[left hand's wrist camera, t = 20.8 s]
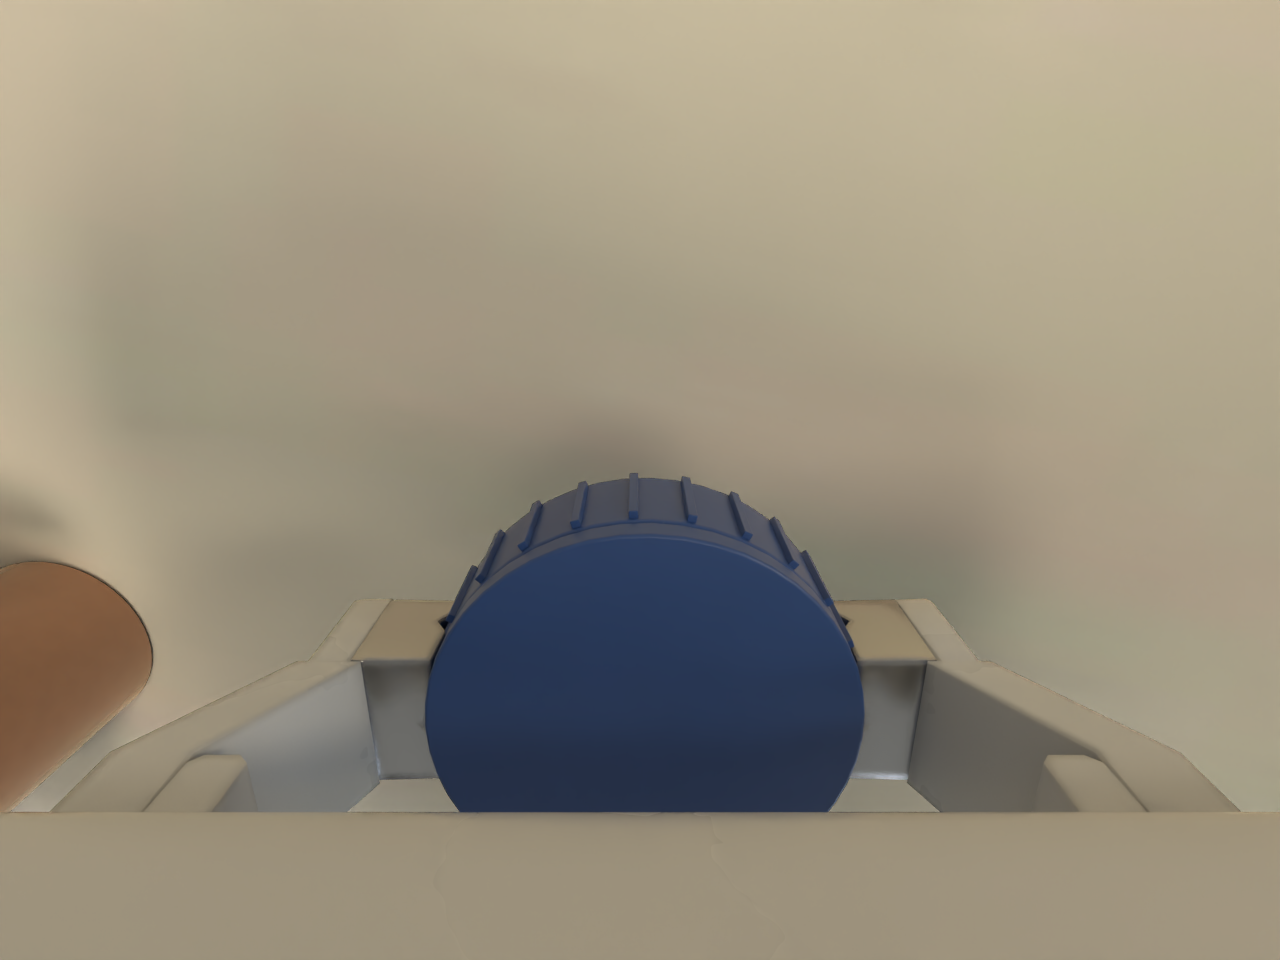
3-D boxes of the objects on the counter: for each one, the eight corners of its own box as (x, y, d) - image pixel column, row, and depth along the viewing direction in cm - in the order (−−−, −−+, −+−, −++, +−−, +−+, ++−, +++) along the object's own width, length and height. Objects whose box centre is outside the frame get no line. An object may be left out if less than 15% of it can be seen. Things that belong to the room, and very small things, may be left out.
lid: (767, 411, 9) (800, 457, 7) (872, 734, 10) (918, 834, 9) (388, 548, 9) (333, 621, 8) (547, 831, 11) (530, 941, 9)
